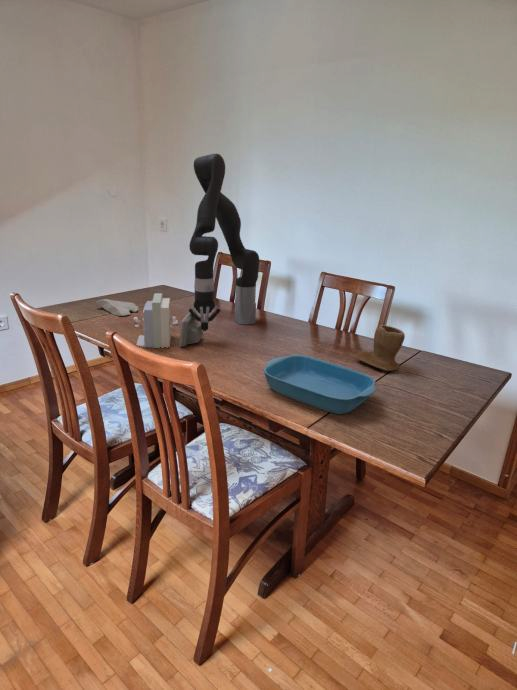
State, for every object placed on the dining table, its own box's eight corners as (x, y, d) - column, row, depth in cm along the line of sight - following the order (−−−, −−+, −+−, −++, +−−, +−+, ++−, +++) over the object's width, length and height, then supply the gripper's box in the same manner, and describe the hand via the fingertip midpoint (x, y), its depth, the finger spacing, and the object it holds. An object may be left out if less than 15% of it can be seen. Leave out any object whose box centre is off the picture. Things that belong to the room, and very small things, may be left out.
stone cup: (406, 368, 164) (413, 329, 158) (386, 375, 157) (392, 335, 152) (373, 355, 175) (378, 318, 170) (353, 361, 168) (357, 323, 163)
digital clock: (191, 334, 189) (184, 310, 186) (210, 332, 186) (204, 307, 183) (173, 348, 175) (166, 323, 172) (193, 346, 172) (186, 320, 168)
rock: (121, 304, 229) (94, 306, 218) (122, 295, 227) (94, 297, 216) (145, 316, 216) (118, 319, 205) (146, 307, 215) (118, 310, 204)
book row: (171, 335, 187) (169, 293, 180) (169, 347, 174) (168, 302, 167) (139, 335, 185) (137, 293, 178) (135, 348, 172) (133, 302, 165)
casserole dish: (249, 387, 144) (250, 367, 142) (289, 367, 161) (290, 349, 158) (352, 428, 123) (355, 405, 121) (385, 400, 140) (389, 379, 137)
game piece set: (124, 328, 194) (124, 319, 193) (149, 315, 212) (149, 307, 211) (164, 334, 189) (163, 325, 187) (186, 321, 207) (186, 313, 205)
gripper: (220, 286, 178) (220, 327, 185) (187, 286, 176) (188, 327, 183) (222, 291, 171) (221, 333, 178) (187, 291, 170) (187, 334, 176)
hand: (204, 330), depth 181 cm, fingers closed
